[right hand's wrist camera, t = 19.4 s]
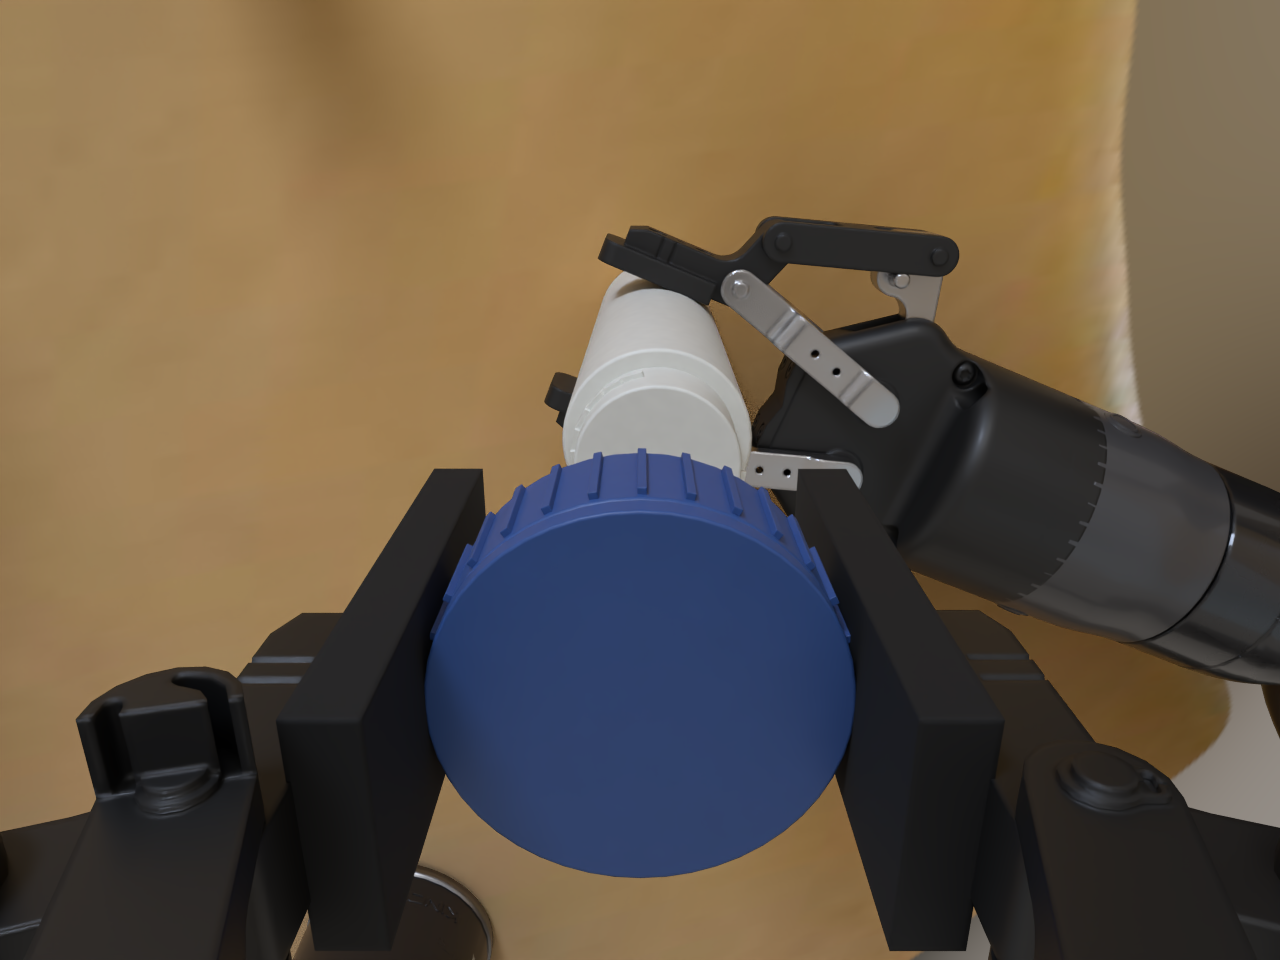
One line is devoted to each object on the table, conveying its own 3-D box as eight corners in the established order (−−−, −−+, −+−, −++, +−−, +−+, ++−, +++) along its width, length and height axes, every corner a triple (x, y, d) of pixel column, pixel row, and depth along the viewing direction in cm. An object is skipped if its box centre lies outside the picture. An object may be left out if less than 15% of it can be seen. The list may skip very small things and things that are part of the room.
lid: (787, 400, 11) (817, 451, 9) (860, 736, 13) (898, 836, 11) (396, 500, 11) (349, 568, 10) (517, 811, 13) (498, 918, 11)
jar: (590, 357, 36) (537, 539, 19) (612, 250, 34) (575, 345, 18) (694, 379, 36) (732, 579, 19) (720, 274, 35) (785, 391, 18)
